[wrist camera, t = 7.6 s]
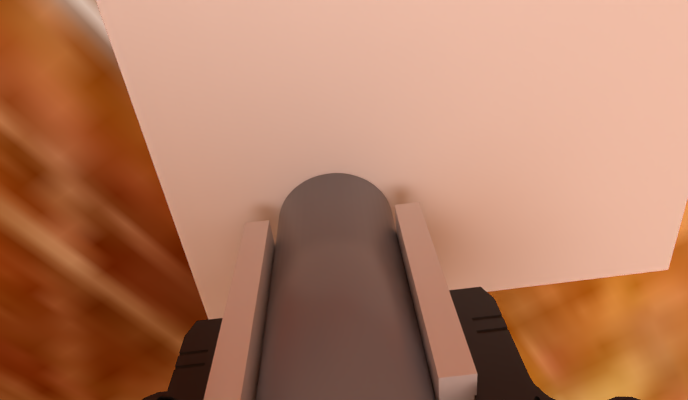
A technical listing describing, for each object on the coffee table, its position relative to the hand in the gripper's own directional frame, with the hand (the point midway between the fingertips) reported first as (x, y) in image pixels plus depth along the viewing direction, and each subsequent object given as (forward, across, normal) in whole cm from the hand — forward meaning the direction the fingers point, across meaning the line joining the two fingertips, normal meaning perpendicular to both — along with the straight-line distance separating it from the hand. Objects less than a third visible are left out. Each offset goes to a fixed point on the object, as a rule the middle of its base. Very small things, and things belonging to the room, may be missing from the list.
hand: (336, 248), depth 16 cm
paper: (+2, +4, +2) cm, 5 cm away
